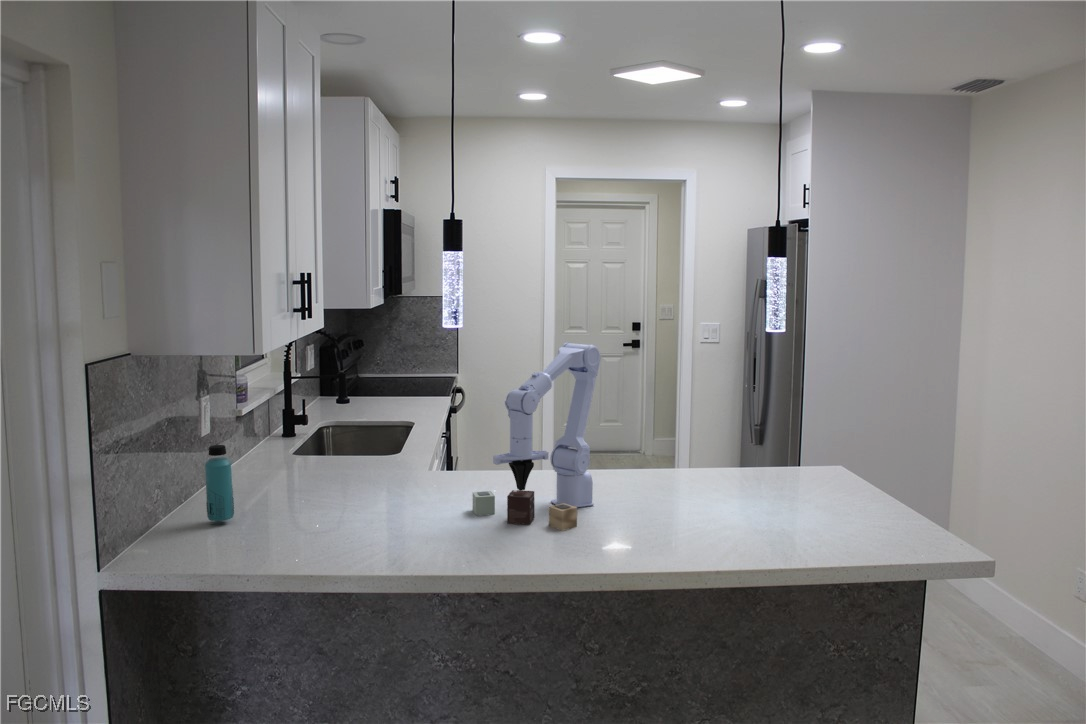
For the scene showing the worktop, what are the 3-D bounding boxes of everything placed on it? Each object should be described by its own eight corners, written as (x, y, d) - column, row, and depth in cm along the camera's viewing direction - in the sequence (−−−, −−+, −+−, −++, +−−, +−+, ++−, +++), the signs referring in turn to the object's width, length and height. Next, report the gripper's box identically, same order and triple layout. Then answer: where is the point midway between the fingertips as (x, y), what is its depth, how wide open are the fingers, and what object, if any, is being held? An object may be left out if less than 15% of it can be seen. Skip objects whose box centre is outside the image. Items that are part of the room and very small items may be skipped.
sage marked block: (490, 509, 230) (490, 490, 229) (494, 514, 225) (494, 495, 224) (472, 510, 228) (472, 491, 228) (476, 515, 223) (476, 496, 223)
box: (529, 525, 216) (530, 497, 215) (506, 524, 217) (506, 495, 216) (534, 518, 222) (535, 490, 221) (512, 516, 223) (512, 489, 222)
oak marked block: (563, 522, 219) (563, 502, 218) (576, 526, 215) (577, 506, 214) (548, 525, 216) (549, 505, 215) (561, 530, 212) (562, 510, 211)
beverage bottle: (240, 520, 218) (237, 443, 215) (222, 528, 212) (219, 449, 209) (219, 518, 220) (215, 441, 217) (201, 525, 214) (197, 447, 211)
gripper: (540, 431, 223) (540, 482, 225) (488, 436, 217) (488, 488, 219) (552, 436, 217) (551, 489, 218) (499, 441, 211) (499, 495, 212)
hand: (520, 489), depth 218 cm, fingers closed
